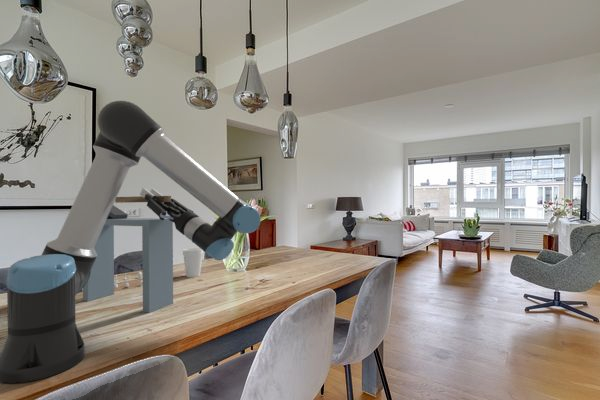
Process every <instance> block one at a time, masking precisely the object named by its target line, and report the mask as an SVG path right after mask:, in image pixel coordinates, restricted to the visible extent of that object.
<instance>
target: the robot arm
mask: <svg viewBox="0 0 600 400" xmlns="http://www.w3.org/2000/svg"><path fill="white" fill-rule="evenodd" d="M97 126H98V129H99V132H98V135H97V136H96V139H95V140H94V141H95V142H94V143H93V145H92V148H93V150H94V152H95V157H94V159H93V161H92V163H91V165H90V168H89V170H88V171H87V174H86V176H85V177H84V180H83V182H82V184H81V187H80V188H79V191H78V193H77V195H76V197H75V200H74V202H73V204H72V205H71V208H70V210H69V212H68V214H67V217H66V219H65V221H64V223H63V225H62V228H61V229H60V231H59V233H58V235H57V237H56V238H55V239H53V240H51V241H48V242H47V243H46V244H45V247H44V249H43V251H42V252H41V255H35V256H30V257H29V258H23V259H20V260H17V261H16V262H14V263H13V264H11V265H10V266H9V268H8V270H7V277H6V282H5V283H6V287H7V288H6V291H7V297H6V299H7V300H6V301H7V304H6V305H7V337H6V341H5V343H4V345H3V348H2V350H1V353H0V381H1V383H4V382H7V383H6V384H16V383H15V382H20V383H21V382H22V383H28V382H33V381H38V380H41V379H46V378H48V377H52V376H54V375H58V374H60V373H62V372H64V371H67V370H69V369H71V368H73V367H74V366H76V365H77V364H78V363H80V362H81V361H83V359H84V358H85V354H86V351H85V350H86V347H85V346H86V345H85V342H84V340H83V338H82V336H81V333H80V331H79V328H78V326H77V322H76V296H77V294H79V293H78V292H79V291H80V290H81V289H83V287H84V286H85V285H86V284H87V282H88V280H89V278H90V273H91V269H92V266H93V264H94V262H95V259H96V257H97V253H96V251H95V249H94V246H95V244H96V242H97V240H98V237H99V235H100V233H101V231H102V228H103V226H104V224H105V222H106V219H107V217H108V215H109V213H110V210H111V208H112V206H113V205H114V203H115V199H116V197H118V195H119V193H120V190H121V188H122V186H123V184H124V181H125V179H126V178H127V177H126V176H127V175H128V172H129V170H130V169H131V168H132V167H135V166H137V165H138V164H139V163H140V160H141V158H142V157H143V158H145V159H146V160H147V161H148V162H150V163H151V164H152V165H153V166H154V167H156V168H157V169H158V170H160V171H161V172H162V173H163V174H165V175H166V176H167V177H168V178H170V180H172V181H173V182H175V183H176V184H178V185H179V187H181V188H182V189H184V190H185V191H186V192H187V193H189V195H191V196H192V197H194V198H195V199H196V200H198V201H199V202H200V203H201V204H202V205H204V206H205V207H206V208H207V209H209V210H210V211H211V212H212V213H214V214H215V215H216V216H218V218H216V220H215V221H214V222H213V224H212V225H211V224H210V223H208V222H207V221H206V220H204V218H202V217H200V216H199V215H197V214H196V213H195V212H194V210H192V209H189V208H188V207H186V206H185V205H183V204H182V203H180V202H178V200H176V199H174V198H171V202H161V201H159V200H158V199H156V196H164V194H162V193H160V192H159V191H158V190H156V189H155V188H154V187H152V188H151V189H150V191H149V190H148V189H146V187H142V189H141V191H140V194H139V196H142V197H143V198H145V199H146V200H147V201H148V202H146V203H147V204H146V207H148V209H150V210H151V211H152V212H153V213H155V215H157V217H159V218H158V219H161V220H164V219H169V220H170V221H172V222H173V224H174V227H175V229H176V230H177V231H178V232H179V233H180V234H182V236H185V237H186V238H187V239H188V240H189V241H191V243H193V244H195V245H196V246H197V248H201V249H202V250H203V253H205V254H207V255H208V256H210V257H211V258H213V259H214V260H216V261H223V260H226V259H227V258H228V257H230V255H231V253H232V250H233V249H234V247H235V244H234V241H233V240H232V239H233V238H234V236H235V235H236V234H237V233H240V234H251V233H253V232H255V231H256V230H257V229H259V228H260V227H259V226H260V225H261V222H262V220H261V219H262V218H261V214H260V212H259V210H257V208H255V207H253V206H251V205H249V204H248V203H247V202H245V201H244V200H243V199H241V198H240V197H238V195H236V194H235V193H234V192H233V191H231V190H230V189H229V188H228V187H227V186H226V185H225V184H223V183H222V182H221V181H220V180H218V179H217V178H216V177H215V176H214V175H213V174H212V173H211V172H209V171H208V170H206V169H205V168H204V167H203V166H202V165H201V164H200V163H198V162H197V160H196V159H193V158H192V156H190V155H189V154H188V153H186V152H185V151H184V150H183V149H182V148H180V147H179V146H178V145H177V144H176V143H174V142H173V141H172V140H171V139H170V138H169V137H167V136H166V135H165V131H164V128H163V126H161V125H160V124H159V123H157V122H156V121H155V120H154V119H153V118H152V117H151V116H150V115H149V114H148V113H146V112H145V110H143V109H142V107H140V106H138V105H137V104H135V103H134V102H130V101H126V100H115V101H111V102H109V103H107V104H105V105H104V106H103V107H102V108H101V109H100V111H99V113H98V116H97ZM20 383H19V384H20Z"/></svg>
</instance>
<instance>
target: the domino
mask: <svg viewBox="0 0 600 400" xmlns="http://www.w3.org/2000/svg"><path fill="white" fill-rule="evenodd" d="M109 216H110V217H112V218H113V219H126V218H128V216H129V214H128V213H126V211H125V212H124V211H123V210H122V209H120V208H118V207H117V206H115V205H114V204H113V206H112V208H111V210H110V213H109Z"/></svg>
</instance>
